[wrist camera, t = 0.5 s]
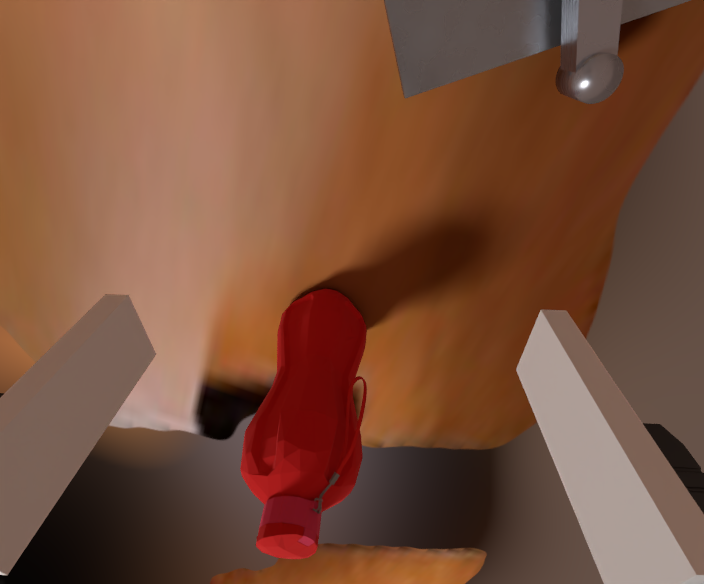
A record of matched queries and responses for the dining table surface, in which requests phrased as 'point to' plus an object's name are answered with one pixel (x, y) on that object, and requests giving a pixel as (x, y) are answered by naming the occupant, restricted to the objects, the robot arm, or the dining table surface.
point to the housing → (478, 35)
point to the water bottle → (307, 424)
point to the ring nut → (590, 49)
